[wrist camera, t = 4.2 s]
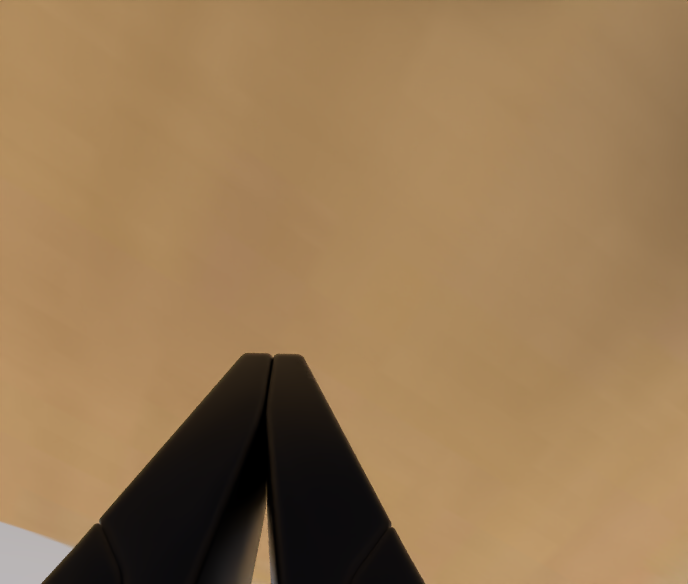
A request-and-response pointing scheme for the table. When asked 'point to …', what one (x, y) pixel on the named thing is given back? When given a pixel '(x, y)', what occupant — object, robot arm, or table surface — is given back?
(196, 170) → the table surface
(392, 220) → the table surface
